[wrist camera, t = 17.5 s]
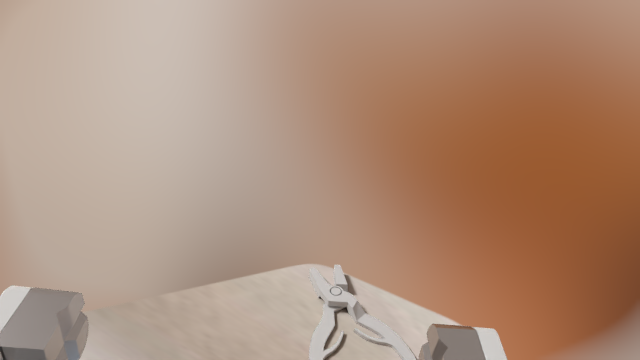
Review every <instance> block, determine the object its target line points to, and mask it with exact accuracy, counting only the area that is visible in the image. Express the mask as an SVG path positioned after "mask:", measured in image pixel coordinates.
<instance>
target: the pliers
mask: <svg viewBox="0 0 640 360" xmlns="http://www.w3.org/2000/svg"><path fill="white" fill-rule="evenodd" d="M333 274H334V286H331V285H329V284H328V283H327V281H326V280H325V279H324V278H323V277H322V275H321V274H320V273H319V272H318V271H317V270H316V268H315V267H313V268H310V270H309V279H310V281H311V283H312V285H313V288H314V290H315V292H316V294H317V296H318V298H319V297H321V298H322V299H323V300H324V302H325V303H324V304H323V316H322V319H321V321H320V323H319V324H318V326H317V327H316V329H315V330H314V332H313V335H312V338H311V343H310V349H309V360H324V359H325V358H326V357H327V356H329V355H330V354H332V353H333V352H334V351H335V350H336V349H337V348H338V347H339V345H340V343H341V341H342V338H343V334H344V331H341V334H340V337H339V339H338V340H337V342H336V343H335V344H334V345H333V346H332V347H331V348H328V349H326V350H324V346H325V344H326V342H327V340H328V338H329V336H330V334H331V332H332V331H333V329H334V327H335V320H334V313H335V312H337V311H339V310H341V309H343V308H345V307H347V310H348V313H349V315H350V316H351V318H352V319H353V320H354V321H355V322H356V323H357V324H359V325H360V326H362V327H364V328H366V329H368V330H370V331H372V332H374V333H375V334H377V335H379V336H380V337H381V338H374V337H371V336H368V335H366V334H365V333H363V332H361V331H360V330H358V329H357V328H355V329H354V332H355V333H356V334H357V335H359V336H360V337H362V338H363V339H365V340H367V341H369V342H372V343H375V344H380V345H386V346H389V347H392V348H393V349H394V350H395V352H396V353H397V354H398V355H399V356H400V357H401V359H402V360H416V358H415V356H414V354H413V353H412V352H411V350H410V349H409V347H408V346H407V345H406V343H405V342H404V341H403V340H402V339H401V338H400V337H399V336H398V335H397V334H396V333H395V332H394V331H393V330H392V329H391V328H390V327H389V326H387V325H386V324H385V323H383V322H382V321H380V320H379V319H377V318H375V317H373V316H371V315H368V314H366V313H365V311H364V310H363V308H362V307H361V305H360V304H359V302H358V301H357V299H356V298H355V297H354V296H353V295H352V294H351V293H348V284H347V281H346V279H345V276H344V274H343V271H342V269H341V266H340V265H334V272H333ZM323 350H324V351H323Z"/></svg>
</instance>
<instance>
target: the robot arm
mask: <svg viewBox="0 0 640 360" xmlns="http://www.w3.org/2000/svg"><path fill="white" fill-rule="evenodd" d="M84 304H85V303H84V299H83V295H82V293H76V292H68V291H59V290H51V289H42V288H32V287H22V286H10V287H9V288H7V289H6V290H4V292H3V293H2V294H1V296H0V360H78V359H79V358H80V357H81V355H82V352H83V350H84V348H85V345H86V341H87V337H88V327H89V324H88V318H87V316H86V315H84V314H83V313H82V312H81V310H82V308H83V306H84ZM427 338H428V342H427V343H426V344H424V345H423V346H422V348H421V351H420V354H419V360H507V357H506V355H505V352H504V349H503V346H502V344H501V341H500V338H499V336H498V333H497V332H496V331H495V329H489V328H477V327H470V326H469V327H468V326H457V325H444V324H432V325H431V326H430V327H429V329H428V331H427Z"/></svg>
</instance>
